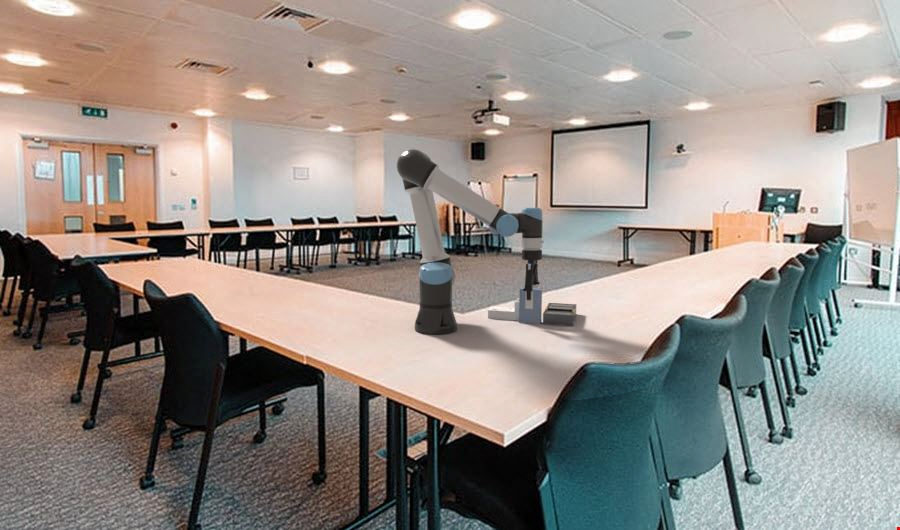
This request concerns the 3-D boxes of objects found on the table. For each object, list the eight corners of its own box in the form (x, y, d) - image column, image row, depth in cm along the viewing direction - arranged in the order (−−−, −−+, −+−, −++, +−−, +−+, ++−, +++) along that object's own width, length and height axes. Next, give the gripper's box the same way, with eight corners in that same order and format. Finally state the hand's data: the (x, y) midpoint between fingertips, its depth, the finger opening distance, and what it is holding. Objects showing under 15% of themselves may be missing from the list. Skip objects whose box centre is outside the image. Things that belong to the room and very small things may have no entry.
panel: (518, 322, 203) (519, 288, 202) (520, 320, 207) (521, 287, 205) (540, 324, 201) (541, 290, 200) (541, 322, 205) (542, 288, 203)
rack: (542, 323, 202) (543, 312, 201) (548, 312, 222) (548, 302, 221) (573, 326, 198) (573, 314, 198) (576, 314, 219) (576, 303, 218)
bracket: (523, 317, 214) (523, 298, 213) (520, 321, 207) (521, 301, 206) (491, 315, 217) (491, 296, 216) (487, 318, 211) (488, 300, 210)
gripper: (538, 252, 187) (537, 312, 190) (545, 246, 211) (545, 299, 214) (516, 252, 190) (516, 311, 192) (526, 245, 213) (526, 298, 216)
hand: (531, 304), depth 203 cm, fingers open, 13 cm apart
